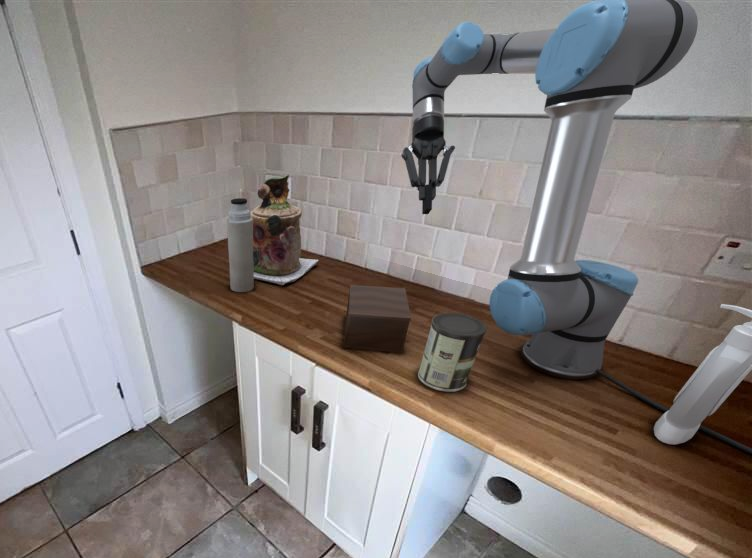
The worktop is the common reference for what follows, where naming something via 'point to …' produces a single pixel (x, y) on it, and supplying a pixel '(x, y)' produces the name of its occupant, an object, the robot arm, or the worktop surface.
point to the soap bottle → (709, 384)
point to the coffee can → (451, 351)
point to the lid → (378, 303)
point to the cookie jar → (277, 236)
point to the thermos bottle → (240, 246)
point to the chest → (375, 333)
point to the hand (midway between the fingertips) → (427, 211)
